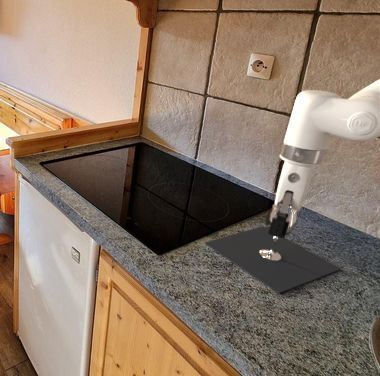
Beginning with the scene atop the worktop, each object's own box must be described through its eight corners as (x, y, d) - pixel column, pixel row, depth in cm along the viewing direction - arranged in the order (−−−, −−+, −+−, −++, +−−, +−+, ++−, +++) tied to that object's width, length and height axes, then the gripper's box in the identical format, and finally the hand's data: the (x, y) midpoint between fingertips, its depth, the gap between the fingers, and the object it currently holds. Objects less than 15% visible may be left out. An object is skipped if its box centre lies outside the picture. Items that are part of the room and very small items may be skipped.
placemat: (340, 270, 89) (341, 268, 89) (279, 294, 81) (279, 292, 81) (262, 227, 105) (262, 225, 105) (204, 243, 97) (205, 242, 97)
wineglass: (262, 245, 96) (276, 200, 91) (288, 255, 93) (303, 209, 87) (252, 253, 93) (265, 207, 88) (278, 265, 89) (293, 217, 84)
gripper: (321, 170, 74) (293, 253, 81) (325, 146, 87) (301, 219, 94) (275, 161, 78) (252, 240, 85) (286, 139, 91) (266, 210, 98)
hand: (278, 228), depth 90 cm, fingers closed on wineglass, 5 cm apart
